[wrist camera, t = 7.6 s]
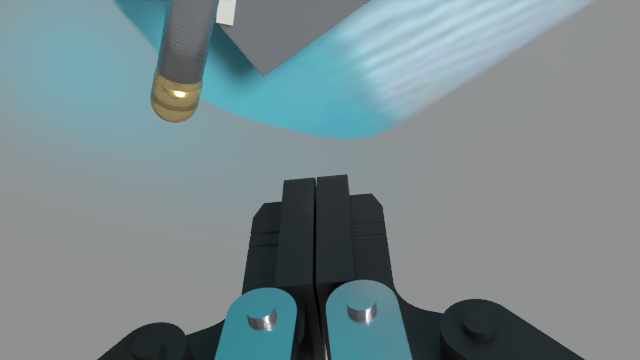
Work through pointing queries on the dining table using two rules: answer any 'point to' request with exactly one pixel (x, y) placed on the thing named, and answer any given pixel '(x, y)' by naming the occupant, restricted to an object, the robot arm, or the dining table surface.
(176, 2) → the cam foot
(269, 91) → the dining table surface
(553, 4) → the dining table surface
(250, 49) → the switch base
